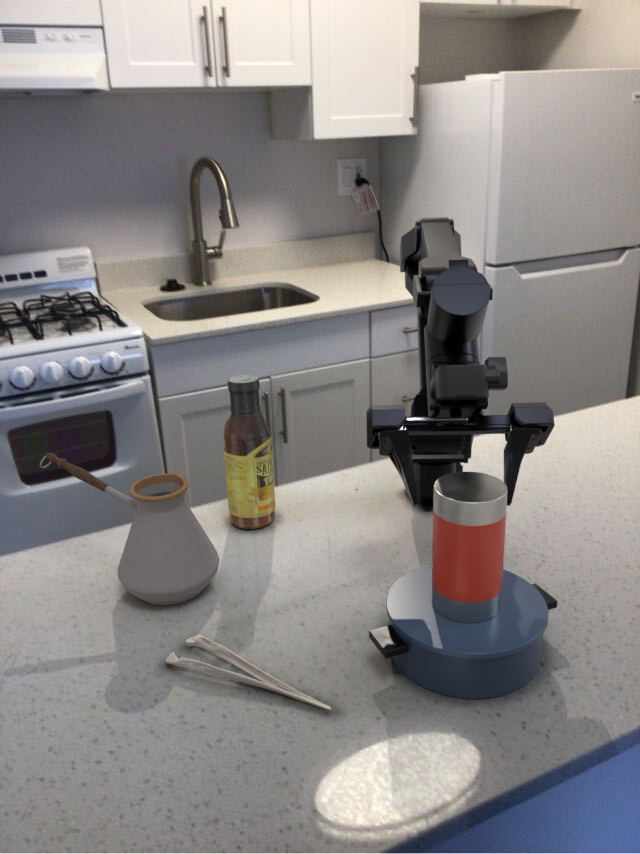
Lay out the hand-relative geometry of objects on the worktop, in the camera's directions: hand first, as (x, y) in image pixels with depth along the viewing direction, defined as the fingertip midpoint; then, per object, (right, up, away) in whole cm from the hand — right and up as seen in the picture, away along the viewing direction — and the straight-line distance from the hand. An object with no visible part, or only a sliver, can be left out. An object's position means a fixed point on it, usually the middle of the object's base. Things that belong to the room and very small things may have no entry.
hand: (461, 504), depth 75 cm
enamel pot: (0, -14, 0) cm, 14 cm away
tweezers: (-21, -17, -3) cm, 27 cm away
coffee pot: (-36, -10, +14) cm, 40 cm away
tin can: (0, -9, -2) cm, 9 cm away
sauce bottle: (-23, -5, +27) cm, 36 cm away
